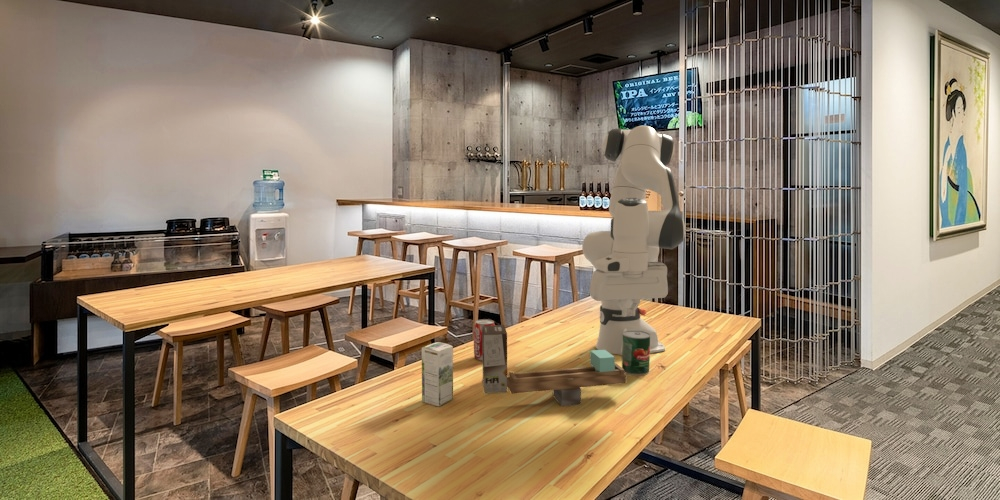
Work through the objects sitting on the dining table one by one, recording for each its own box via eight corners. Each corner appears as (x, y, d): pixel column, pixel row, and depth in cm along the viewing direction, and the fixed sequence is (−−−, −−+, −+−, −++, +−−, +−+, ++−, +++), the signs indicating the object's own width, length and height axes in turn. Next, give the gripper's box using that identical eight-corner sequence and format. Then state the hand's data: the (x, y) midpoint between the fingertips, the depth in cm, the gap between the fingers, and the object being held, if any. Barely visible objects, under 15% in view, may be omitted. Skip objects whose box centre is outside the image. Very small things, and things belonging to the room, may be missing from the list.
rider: (604, 367, 141) (604, 349, 141) (614, 375, 135) (614, 357, 134) (590, 368, 140) (590, 350, 140) (599, 377, 134) (600, 358, 134)
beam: (615, 389, 143) (616, 362, 142) (627, 399, 136) (628, 370, 135) (506, 400, 137) (506, 371, 136) (512, 411, 130) (512, 381, 129)
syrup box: (436, 394, 140) (435, 341, 139) (454, 399, 137) (453, 344, 135) (421, 402, 136) (420, 346, 134) (439, 407, 132) (438, 350, 131)
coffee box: (508, 392, 141) (507, 333, 139) (483, 393, 141) (483, 334, 139) (504, 380, 150) (504, 324, 149) (482, 381, 150) (481, 325, 148)
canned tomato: (644, 376, 152) (645, 339, 151) (617, 372, 157) (618, 335, 155) (652, 368, 159) (653, 332, 158) (626, 364, 163) (627, 329, 162)
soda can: (493, 362, 165) (493, 324, 164) (471, 361, 167) (471, 323, 165) (498, 355, 172) (498, 319, 171) (476, 354, 174) (476, 318, 172)
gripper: (661, 259, 141) (659, 311, 143) (587, 262, 137) (586, 315, 138) (673, 262, 135) (671, 316, 137) (597, 265, 131) (596, 321, 132)
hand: (628, 316), depth 137 cm, fingers closed
